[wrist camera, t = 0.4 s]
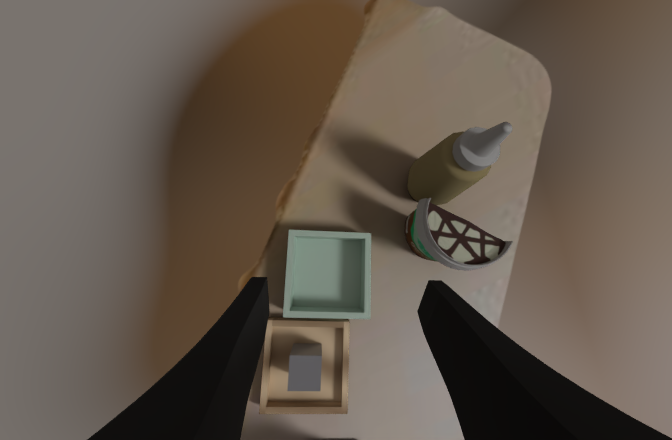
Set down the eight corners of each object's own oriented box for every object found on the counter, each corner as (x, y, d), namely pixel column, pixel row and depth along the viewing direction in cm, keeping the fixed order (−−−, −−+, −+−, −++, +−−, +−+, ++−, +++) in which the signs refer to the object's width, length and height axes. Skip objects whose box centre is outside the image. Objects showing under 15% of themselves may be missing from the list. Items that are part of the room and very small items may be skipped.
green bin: (364, 312, 36) (370, 319, 32) (287, 311, 35) (282, 317, 31) (365, 236, 38) (371, 233, 34) (292, 233, 37) (288, 229, 33)
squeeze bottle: (444, 164, 41) (540, 90, 23) (449, 210, 40) (554, 169, 22) (398, 163, 40) (459, 87, 23) (401, 210, 39) (469, 168, 21)
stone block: (320, 374, 34) (320, 391, 29) (291, 373, 33) (287, 391, 29) (321, 343, 34) (321, 355, 30) (293, 343, 34) (289, 355, 30)
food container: (383, 245, 38) (405, 239, 28) (399, 211, 39) (426, 195, 29) (452, 282, 38) (499, 290, 28) (466, 247, 39) (517, 243, 29)
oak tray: (345, 405, 34) (347, 413, 32) (262, 405, 33) (259, 414, 31) (348, 318, 36) (349, 321, 34) (269, 317, 35) (266, 320, 33)
